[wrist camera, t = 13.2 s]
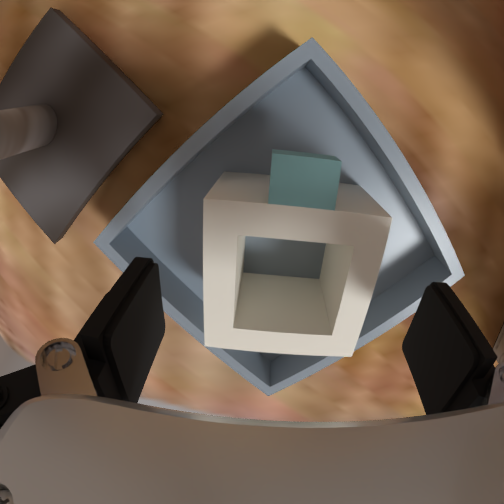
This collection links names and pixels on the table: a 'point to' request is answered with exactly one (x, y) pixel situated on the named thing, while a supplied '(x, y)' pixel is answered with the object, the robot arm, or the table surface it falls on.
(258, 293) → the collar
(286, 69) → the tray
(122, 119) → the board
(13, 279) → the table surface
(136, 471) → the robot arm
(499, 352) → the coffee box
